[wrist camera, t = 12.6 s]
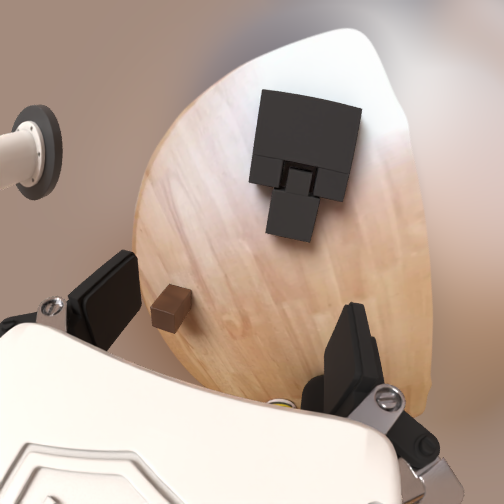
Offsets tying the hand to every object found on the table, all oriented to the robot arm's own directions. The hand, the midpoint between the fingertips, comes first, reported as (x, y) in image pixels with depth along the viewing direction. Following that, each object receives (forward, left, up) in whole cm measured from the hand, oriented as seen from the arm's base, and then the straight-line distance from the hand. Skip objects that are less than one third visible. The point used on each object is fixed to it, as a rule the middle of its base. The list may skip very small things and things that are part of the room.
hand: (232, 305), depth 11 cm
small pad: (+2, -1, -21) cm, 21 cm away
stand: (-12, -18, -21) cm, 30 cm away
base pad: (+2, +6, -21) cm, 22 cm away
